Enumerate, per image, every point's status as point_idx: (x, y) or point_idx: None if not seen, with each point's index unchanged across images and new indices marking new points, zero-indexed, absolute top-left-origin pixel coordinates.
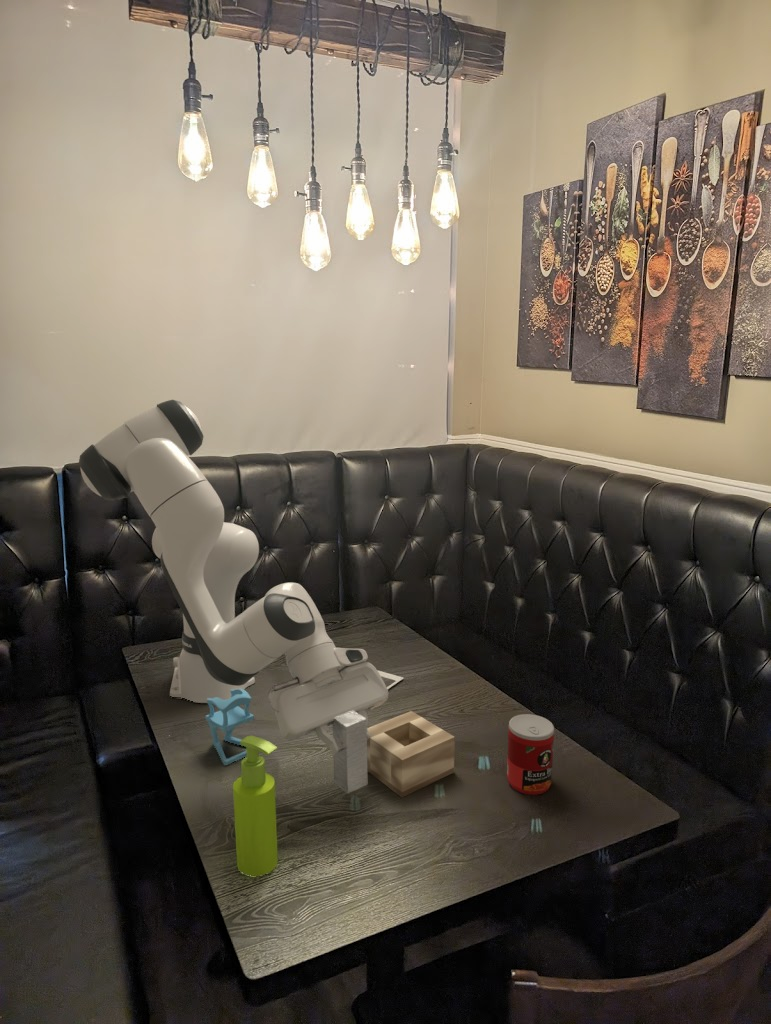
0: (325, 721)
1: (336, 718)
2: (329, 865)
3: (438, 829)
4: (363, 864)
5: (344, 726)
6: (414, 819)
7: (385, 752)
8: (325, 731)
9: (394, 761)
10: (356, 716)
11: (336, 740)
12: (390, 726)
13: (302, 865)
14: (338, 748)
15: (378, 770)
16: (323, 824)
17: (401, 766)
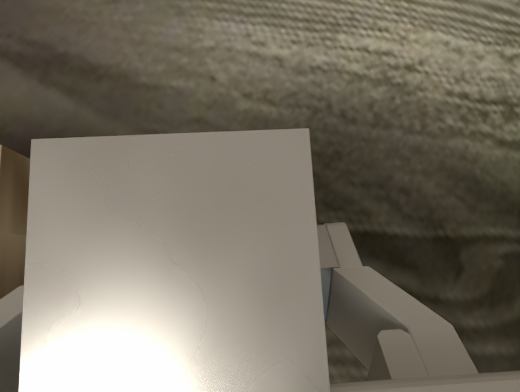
0: (442, 384)
1: (307, 357)
2: (426, 63)
3: (100, 11)
4: (349, 18)
5: (310, 164)
6: (124, 80)
7: (6, 278)
8: (421, 329)
9: (18, 209)
10: (86, 254)
11: (326, 261)
12: None
13: (488, 102)
14: (325, 225)
15: None
16: (362, 216)
17: (21, 159)
